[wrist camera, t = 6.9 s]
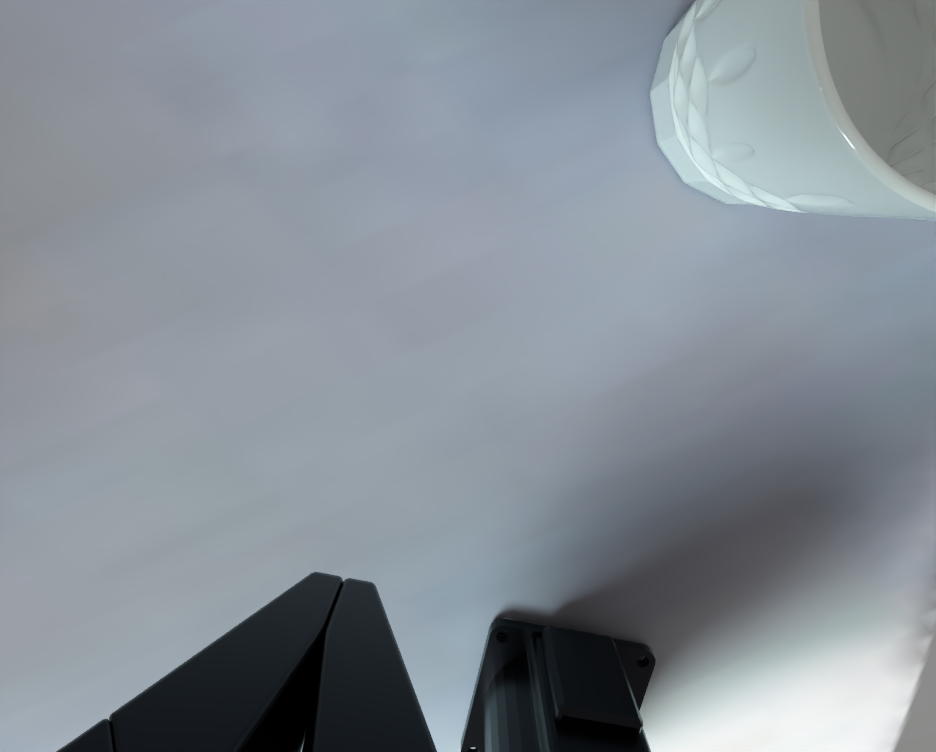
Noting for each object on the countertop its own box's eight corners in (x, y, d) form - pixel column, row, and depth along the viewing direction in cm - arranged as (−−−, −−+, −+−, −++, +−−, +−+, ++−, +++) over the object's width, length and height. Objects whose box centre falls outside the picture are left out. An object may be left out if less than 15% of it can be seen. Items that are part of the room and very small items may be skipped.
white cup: (830, 247, 20) (1179, 270, 10) (600, 194, 19) (734, 165, 10) (925, -17, 18) (1466, -299, 8) (672, -82, 17) (929, -463, 8)
